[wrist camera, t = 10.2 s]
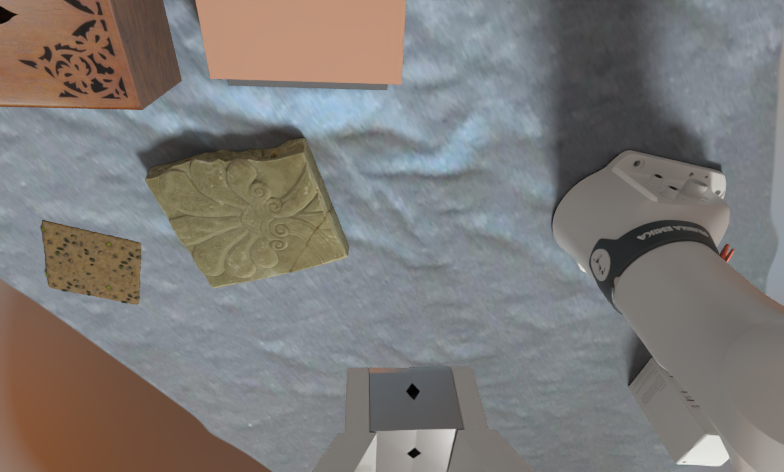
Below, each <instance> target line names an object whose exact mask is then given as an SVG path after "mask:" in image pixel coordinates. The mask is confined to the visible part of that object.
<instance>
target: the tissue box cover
mask: <svg viewBox="0 0 784 472" xmlns="http://www.w3.org/2000/svg"><path fill="white" fill-rule="evenodd" d="M181 81H182V80H181V76H180V71H179V67H178V63H177V59H176V54H175V50H174V46H173V41H172V37H171V33H170V29H169V24H168V20H167V16H166V11H165V7H164V3H163V0H0V107H43V108H87V109H131V110H143V109H144V108H145V107H147V106H148V105H150V104H151V103H152V102H154V101H155V100H156V99H158V98H159V97H160V96H162V95H163V94H165V93H166V92H167V91H169V90H170V89H171V88H173V87H174V86H175V85H177V84H178V83H179V82H181Z"/></svg>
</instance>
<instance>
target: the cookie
mask: <svg viewBox="0 0 784 472" xmlns="http://www.w3.org/2000/svg"><path fill="white" fill-rule="evenodd" d="M41 231H42V232H43V243H44V246H45V247H44V248H45V256H46V269H47V271H46V276H47V279H48V285H49V287H51V288H54V289H60V290H62V291H68V292H69V291H70V292H73V293H81V294H86V295H89V296H90V295H91V296H96V297H100V298H107V299H112V300H115V301H121V302H122V303H130V304H139V300H140V297H139V293H140V290H139V288H140V268H141V267H140V264H141V243H139V242H135V241H131V240H128V239H123V238H119V237H114V236H111V235H105V234H100V233H97V232H91V231H88V230H83V229H79V228H75V227H70V226H65V225H62V224H57V223H53V222H48V221H45V220H42V228H41Z"/></svg>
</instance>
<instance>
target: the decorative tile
mask: <svg viewBox="0 0 784 472" xmlns="http://www.w3.org/2000/svg"><path fill="white" fill-rule="evenodd" d="M145 182H146V183H147V185H148V187H149V188H150V190H151V192H152V193H153V195H154V197H155V198H156V200H157V202H158V203H159V205H160V206H161V208H162V209H163V211H164V212H165V214H166V215H167V217H168V219H169V222H170V224H171V226H172V228H173V230H174V231H175V233H176V235H177V237H178V238H179V240H180V242H181V243H182V244H183V245H184V246H186V248H187V249H188V251H189V252H190V254H191V255H192V257H193V259H194V262H195V263H196V265H197V267H198V268H199V270H200V271H201V272H202V273H203V274H204V275H205V276H206V278H207V280H208V282H209V283H210V285H211V286H212V287H213V288H217V287H223V286H228V285H233V284H238V283H243V282H248V281H254V280H259V279H264V278H268V277H272V276H277V275H281V274H285V273H289V272H295V271H299V270H303V269H307V268H311V267H315V266H319V265H323V264H326V263H330V262H333V261H337V260H341V259H344V258H346V257H348V251H349V245H348V243H347V240H346V237H345V235H344V233H343V231H342V228H341V225H340V222H339V219H338V217H337V215H336V212H335V210H334V207H333V206H332V203H331V200H330V198H329V195H328V192H327V189H326V187H325V184H324V182H323V179H322V177H321V174H320V172H319V170H318V167H317V165H316V162H315V160H314V157H313V155H312V152H311V150H310V147H309V145H308V143H307V140H305V138H299V139H292V140H288V141H287V142H285V143H283V144H281V145H279V146H278V147H276V148H271V149H258V150H256V149H248V150H246V151H240V152H234V151H229V150H225V149H220V150H218V151H216V152H214V153H207V152H205V153H203V154H199V155H194V156H191V157H190V158H187V159H182V160H179V161H174V162H172V163H170V164H162V165H158V166H155V167H152V168H150V170H149V172H148V173H147V176H146V178H145Z"/></svg>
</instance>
